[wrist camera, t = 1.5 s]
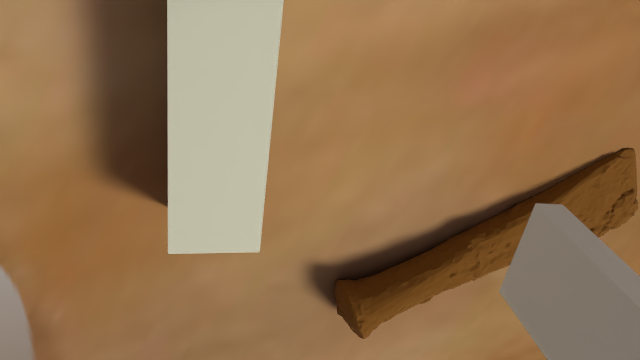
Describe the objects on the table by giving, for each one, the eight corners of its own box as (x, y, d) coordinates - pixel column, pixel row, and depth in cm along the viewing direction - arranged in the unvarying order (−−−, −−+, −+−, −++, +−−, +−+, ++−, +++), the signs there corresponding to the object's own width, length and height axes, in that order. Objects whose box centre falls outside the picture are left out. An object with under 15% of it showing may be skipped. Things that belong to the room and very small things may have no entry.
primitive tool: (629, 140, 32) (675, 170, 29) (632, 211, 34) (674, 245, 31) (321, 271, 32) (335, 314, 29) (350, 331, 35) (366, 375, 32)
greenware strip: (250, 205, 28) (259, 252, 25) (170, 205, 27) (168, 253, 24) (280, -156, 21) (298, -159, 17) (170, -174, 20) (166, -180, 16)
